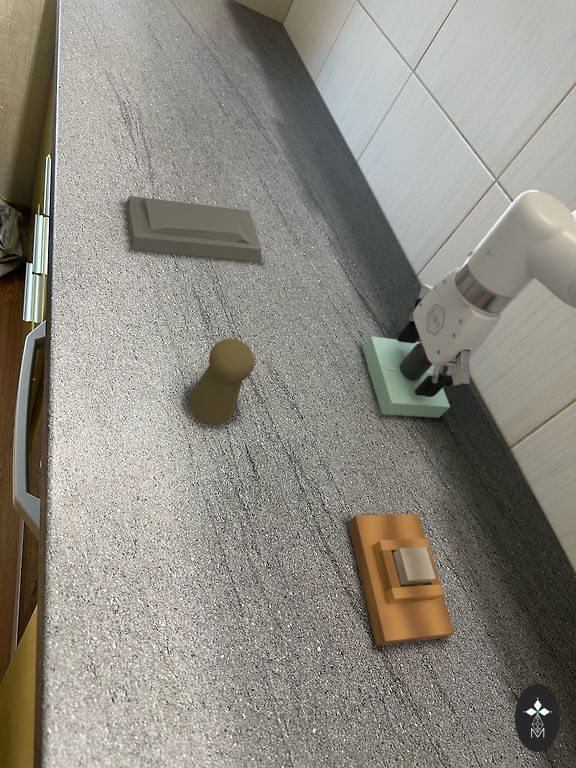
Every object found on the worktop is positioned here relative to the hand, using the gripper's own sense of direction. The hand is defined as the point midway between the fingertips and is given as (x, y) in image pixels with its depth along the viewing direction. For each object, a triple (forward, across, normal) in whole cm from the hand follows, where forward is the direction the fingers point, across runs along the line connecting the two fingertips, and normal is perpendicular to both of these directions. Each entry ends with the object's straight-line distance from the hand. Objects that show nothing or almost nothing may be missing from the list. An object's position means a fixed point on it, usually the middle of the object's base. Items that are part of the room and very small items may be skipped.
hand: (414, 366), depth 84 cm
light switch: (+4, +29, -10) cm, 31 cm away
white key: (0, +29, -10) cm, 31 cm away
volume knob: (+1, 0, 0) cm, 1 cm away
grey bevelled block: (+4, -26, -30) cm, 40 cm away
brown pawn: (+4, +6, -30) cm, 31 cm away
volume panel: (+4, 0, 0) cm, 4 cm away
